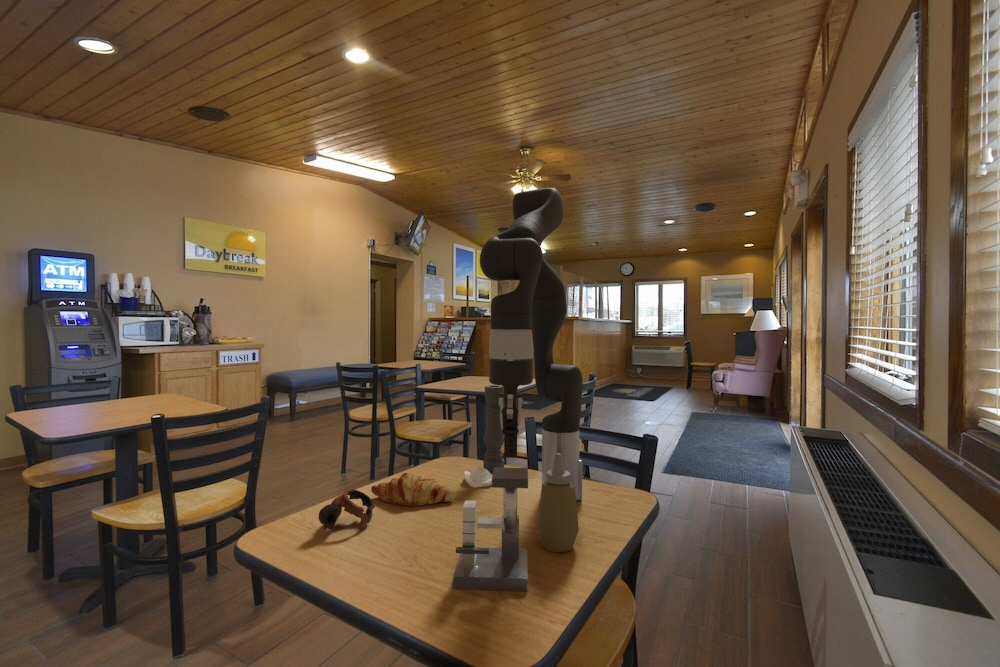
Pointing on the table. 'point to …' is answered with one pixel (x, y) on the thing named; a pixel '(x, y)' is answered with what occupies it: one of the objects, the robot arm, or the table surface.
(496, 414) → the candle holder
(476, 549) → the peak pointer
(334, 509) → the brown headphones
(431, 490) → the croissant
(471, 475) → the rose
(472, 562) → the frame
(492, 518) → the dark grey blocky piece
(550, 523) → the squeeze bottle
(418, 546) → the table surface
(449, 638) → the table surface
